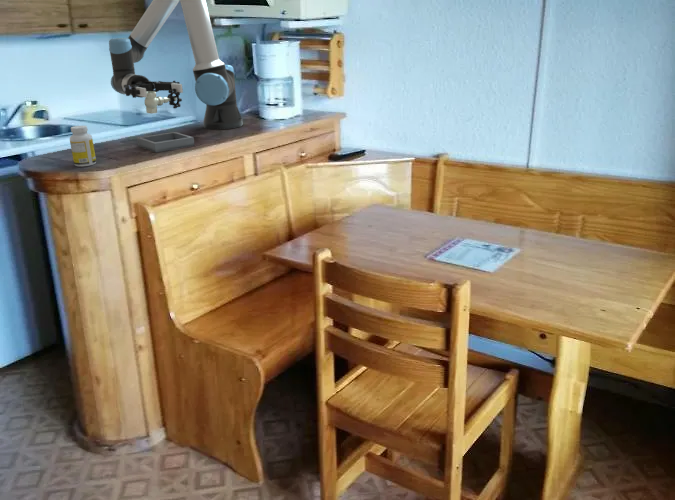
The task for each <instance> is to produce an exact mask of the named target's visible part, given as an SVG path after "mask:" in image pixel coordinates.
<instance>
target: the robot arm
mask: <svg viewBox="0 0 675 500" xmlns="http://www.w3.org/2000/svg"><path fill="white" fill-rule="evenodd" d="M179 2H180V6H181V9H182V13H183V17H184V23H185V26H186V30H187V35H188V37H189V38H188V39H189V42H190V45H191V46H190V47H191V51H192V55H193V59H194V63H195V65H194V66H193V68H192V73H193V77H194V81H195V83H194V92H195V95H196V96H197V98H198V99H199V101H200V102H202V103H203V104H205V105H206V106H205V113H204V118H203V128H204V129H207V130H230V129H235V128H240V127H242V126H243V124H244V123H243V117H242V115H241V113H240V110H239V107H238V105H237V95H236V81H235V69H234V67H233V66H232V65H229V64H225V62H223V60H221V59H220V57H219V53H218V47H217V44H216V39H215V35H214V31H213V26H212V22H211V19H210V14H209V10H208V9H209V8H208V5H207V1H206V0H152V1H151V2H150V5H149V6H148V7H147V8H146V10H145V12H144V13H143V15H142V16H141V17H140V19H139V21H138V22H137V24H136V25H135V27H133V29H132V30H131V33H129V34H130V35H129V36H128V37H123V38H121V37H120V38H119V37H117V38H116V37H115V38H110V39H109V40H108V50H109V55H110V61H111V66H112V67H111V68H112V76H111V79H110V86H111V88H112V89H113V90H114V91H115V92H117V93H119V94H121V95H125V97H129V96H130V97H132V99H133V98H135V99H136V98H146V97H147V93H146V92H147V91H154V92H156V93H157V92H159V91H167V92H168V91H169V90H172V89H176V92H180V94H183V93H184V91H183V84H182V83H180V81H176V80H173V81H161V80H158V81H157V80H156V81H155V80H154V81H151V80H150V79H149V78H147V77H146V76H145V75H141V74H137V73H136V69H135V63H139V62H141V60H142V59H144V56H145V52H146V51H147V49H148V48H149V46H150V45H151V43H152V42H153V40H154V39H155V37H156V36H157V35H158V34H159V33H160V30H161V29H162V27H163V26H164V24H166V21H167V20H168V19H169V17H170V16H171V14H172V12H173V11H174V10H175V8H176V7H177V5H178V4H179ZM172 91H173V90H172Z"/></svg>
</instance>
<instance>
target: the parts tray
mask: <svg viewBox="0 0 675 500" xmlns="http://www.w3.org/2000/svg"><path fill="white" fill-rule="evenodd" d="M137 145H138V147H139V148H142V149H144V150H148V151H151V152H153V153H155V154H157V153H162V152H167V151H173V150H179V149H185V148H186V149H187V148H191V147H195V139H194V136H190V135H187V134H184V133H182V132H181V133H180V132H177V131H173V132H165V133H160V134H158V133H157V134H153V135H146V136H140V137H137Z"/></svg>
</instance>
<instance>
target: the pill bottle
mask: <svg viewBox="0 0 675 500" xmlns="http://www.w3.org/2000/svg"><path fill="white" fill-rule="evenodd" d="M88 131H89V130H88V126H87V125H76V126H75V125H74V126H71V127H70V132H71V133H72V135H70V137H69V144H70V149H71V154H72V160H73V165H74V166H75V167H80V168H81V167H83V168H84V167H89V166H93V165H95V164H96V163H97V158H96V152H95V144H94V139H93V136H92V135H91V134H90V133H89V132H88Z"/></svg>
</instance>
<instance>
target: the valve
mask: <svg viewBox="0 0 675 500" xmlns="http://www.w3.org/2000/svg"><path fill="white" fill-rule="evenodd" d="M172 90H173V91H172ZM172 90H169V91H167V92H168V93H169V94H167V96H164V97H162V96H160V95H159V96H157V92H154V91H147V92H146V93H147V97H144V105H145V109H146V111H145V112H146V113H147V114H157V113H158V107H159V106H163V105H164V104H167V103H169V104H168V105H170V106H172V108H173V109H174V110H175V109H177V108H181V103H180V102H182V101H183V100H182V99H183V98H181V97H180V95H181V93H180V92H176V89H172Z"/></svg>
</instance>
